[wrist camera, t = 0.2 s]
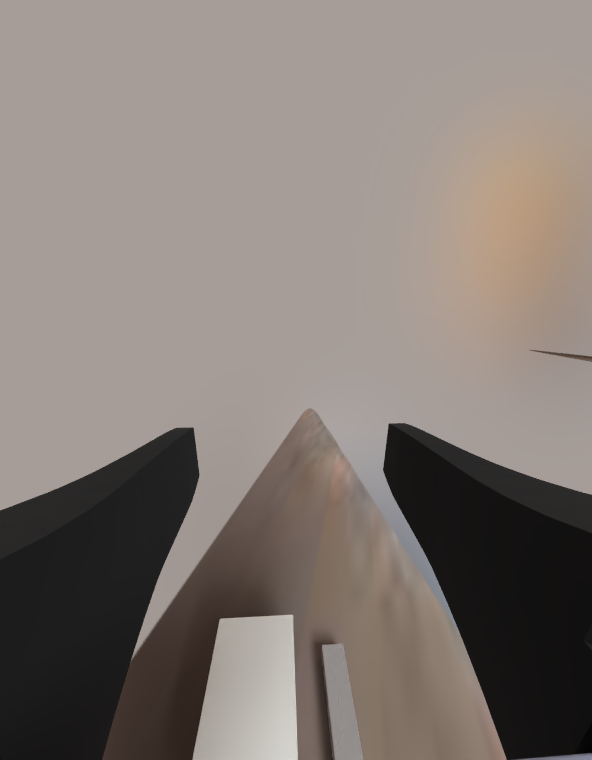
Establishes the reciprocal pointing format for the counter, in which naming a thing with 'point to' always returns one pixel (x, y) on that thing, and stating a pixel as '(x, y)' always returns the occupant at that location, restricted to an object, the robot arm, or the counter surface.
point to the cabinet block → (250, 692)
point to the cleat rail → (340, 705)
